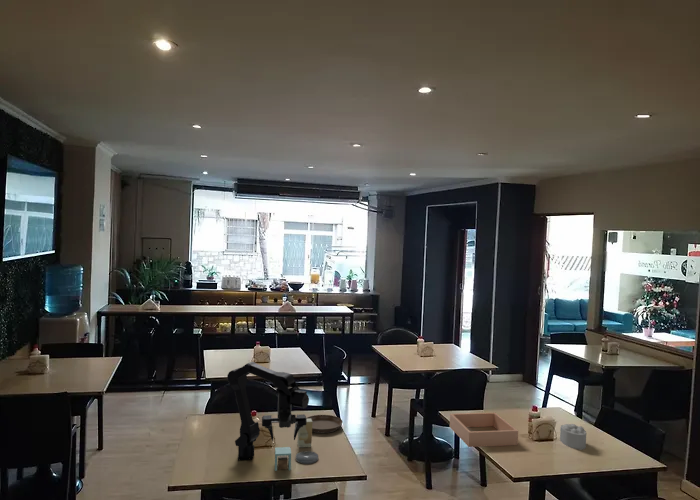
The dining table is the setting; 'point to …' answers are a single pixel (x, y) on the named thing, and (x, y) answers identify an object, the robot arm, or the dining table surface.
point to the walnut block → (282, 462)
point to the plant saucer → (325, 423)
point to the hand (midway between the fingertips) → (283, 440)
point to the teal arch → (283, 452)
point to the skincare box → (305, 434)
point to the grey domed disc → (306, 457)
